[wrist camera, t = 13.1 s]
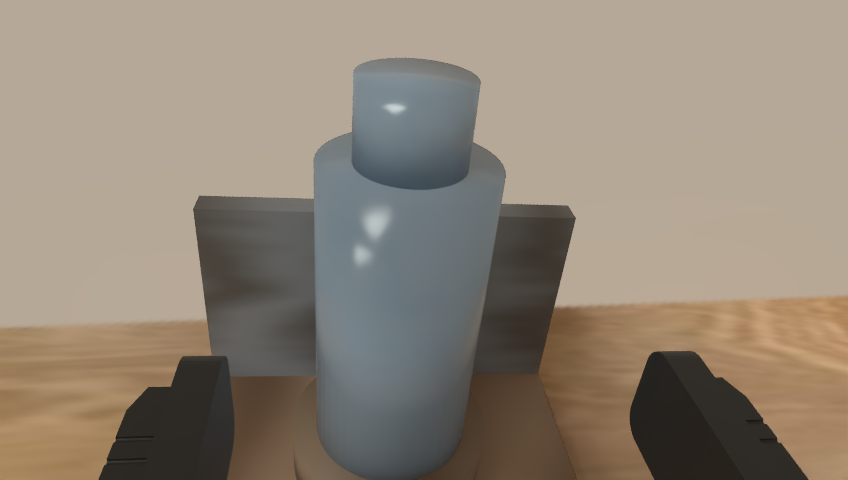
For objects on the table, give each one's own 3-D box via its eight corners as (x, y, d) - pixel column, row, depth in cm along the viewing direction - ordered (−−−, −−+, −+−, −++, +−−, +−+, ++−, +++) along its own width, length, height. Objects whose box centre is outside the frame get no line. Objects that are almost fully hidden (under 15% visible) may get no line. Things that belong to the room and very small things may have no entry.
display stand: (173, 585, 20) (122, 366, 15) (222, 384, 27) (200, 194, 22) (588, 563, 22) (666, 361, 17) (526, 380, 29) (567, 204, 24)
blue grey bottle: (312, 485, 19) (306, 106, 13) (319, 369, 24) (317, 43, 17) (474, 479, 20) (544, 116, 14) (451, 367, 24) (496, 53, 18)
